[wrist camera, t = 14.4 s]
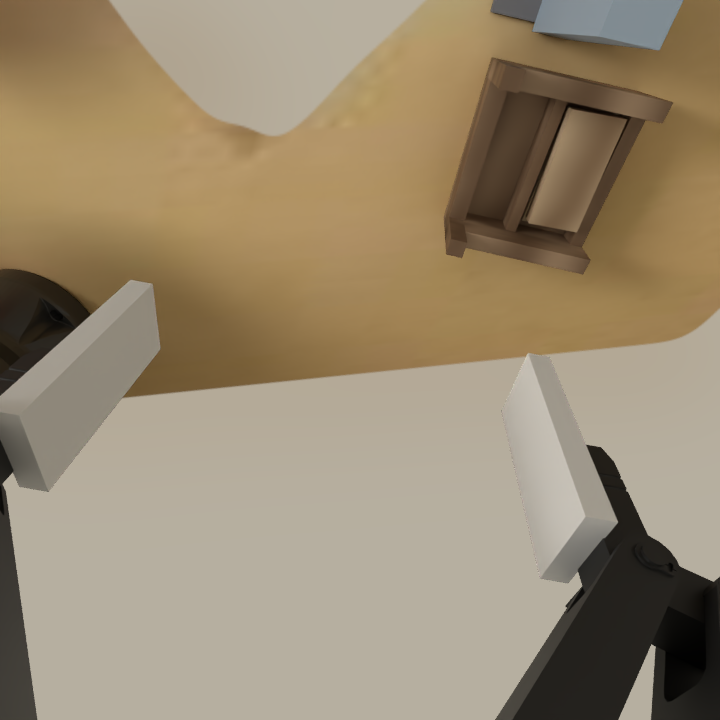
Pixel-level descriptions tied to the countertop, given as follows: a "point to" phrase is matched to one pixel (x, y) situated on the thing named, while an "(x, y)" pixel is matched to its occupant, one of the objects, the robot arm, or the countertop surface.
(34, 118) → the countertop surface
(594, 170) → the offcut top
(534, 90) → the rack
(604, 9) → the blue rectangular block
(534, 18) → the mat
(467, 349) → the countertop surface
